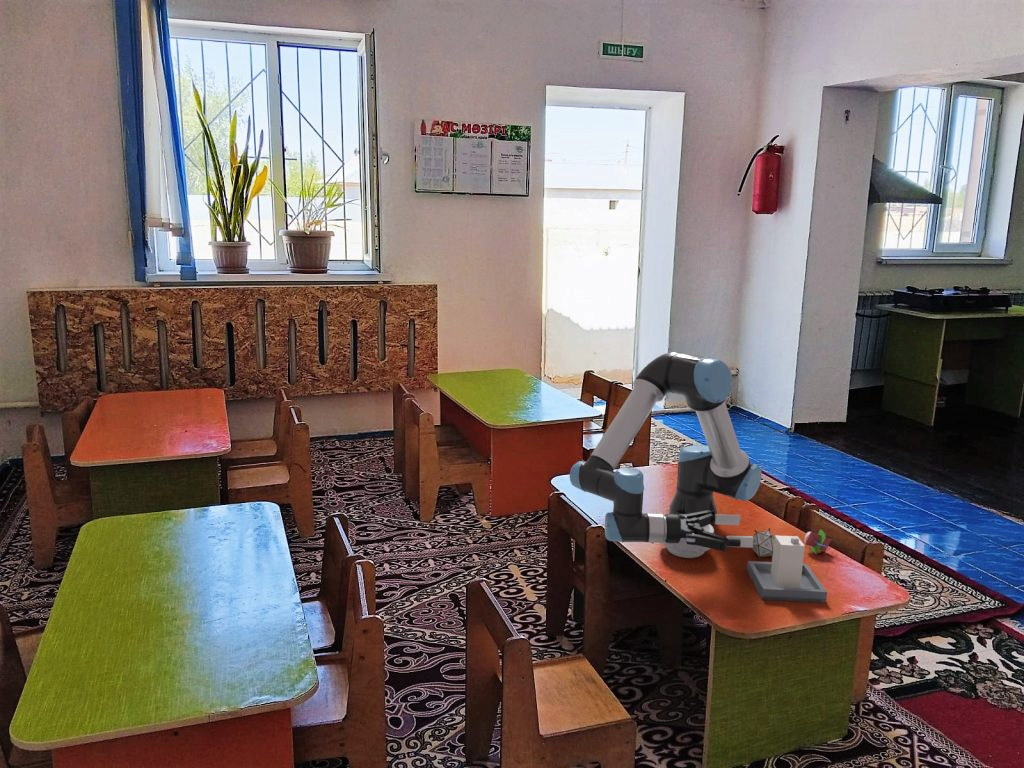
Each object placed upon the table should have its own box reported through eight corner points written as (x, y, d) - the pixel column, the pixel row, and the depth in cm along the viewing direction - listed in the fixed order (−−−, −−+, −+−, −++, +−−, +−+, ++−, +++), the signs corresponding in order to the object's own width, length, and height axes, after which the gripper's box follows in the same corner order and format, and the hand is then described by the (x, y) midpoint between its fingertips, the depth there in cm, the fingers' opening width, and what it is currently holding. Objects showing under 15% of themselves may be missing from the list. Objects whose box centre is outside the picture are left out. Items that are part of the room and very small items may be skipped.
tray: (746, 571, 211) (747, 561, 211) (805, 573, 211) (806, 563, 210) (762, 599, 196) (763, 588, 195) (825, 602, 195) (827, 592, 194)
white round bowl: (663, 562, 215) (665, 536, 214) (654, 539, 230) (656, 515, 229) (718, 564, 215) (720, 537, 214) (705, 541, 230) (707, 516, 229)
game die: (768, 570, 220) (784, 554, 213) (740, 558, 221) (755, 540, 214) (772, 546, 226) (788, 529, 219) (745, 534, 227) (760, 516, 220)
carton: (770, 576, 206) (775, 531, 203) (792, 578, 206) (798, 532, 203) (776, 587, 200) (781, 541, 198) (799, 588, 200) (805, 542, 197)
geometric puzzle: (830, 540, 228) (816, 520, 226) (841, 550, 221) (827, 529, 220) (809, 553, 229) (796, 533, 227) (820, 563, 222) (806, 543, 220)
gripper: (657, 522, 214) (733, 524, 213) (670, 563, 190) (757, 565, 189) (658, 497, 213) (735, 499, 212) (672, 535, 188) (759, 537, 187)
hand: (746, 530), depth 200 cm, fingers open, 13 cm apart
